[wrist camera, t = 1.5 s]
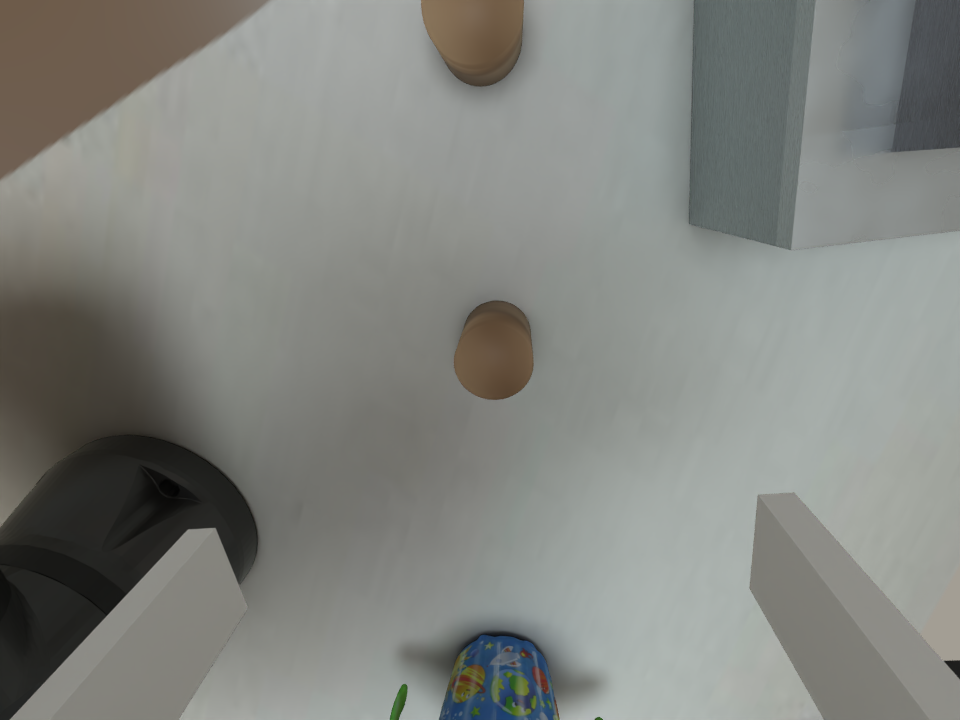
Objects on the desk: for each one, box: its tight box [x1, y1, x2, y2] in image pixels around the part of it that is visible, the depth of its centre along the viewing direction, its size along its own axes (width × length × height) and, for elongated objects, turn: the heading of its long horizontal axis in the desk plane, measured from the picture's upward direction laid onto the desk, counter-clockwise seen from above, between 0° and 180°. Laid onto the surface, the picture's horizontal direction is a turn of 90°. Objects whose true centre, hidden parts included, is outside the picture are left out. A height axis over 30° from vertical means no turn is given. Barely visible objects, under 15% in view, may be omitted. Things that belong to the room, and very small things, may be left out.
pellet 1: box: [421, 0, 524, 86], centre depth 21 cm, size 4×4×5 cm
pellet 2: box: [454, 301, 533, 400], centre depth 26 cm, size 4×4×5 cm
